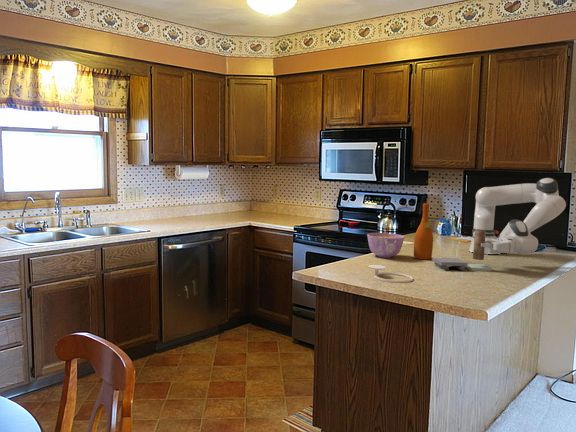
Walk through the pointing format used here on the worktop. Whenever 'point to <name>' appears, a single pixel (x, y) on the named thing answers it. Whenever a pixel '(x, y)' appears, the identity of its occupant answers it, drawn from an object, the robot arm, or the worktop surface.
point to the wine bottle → (423, 237)
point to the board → (478, 267)
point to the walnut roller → (478, 250)
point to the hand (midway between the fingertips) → (477, 243)
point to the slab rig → (450, 263)
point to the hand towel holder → (380, 267)
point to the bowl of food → (385, 244)
